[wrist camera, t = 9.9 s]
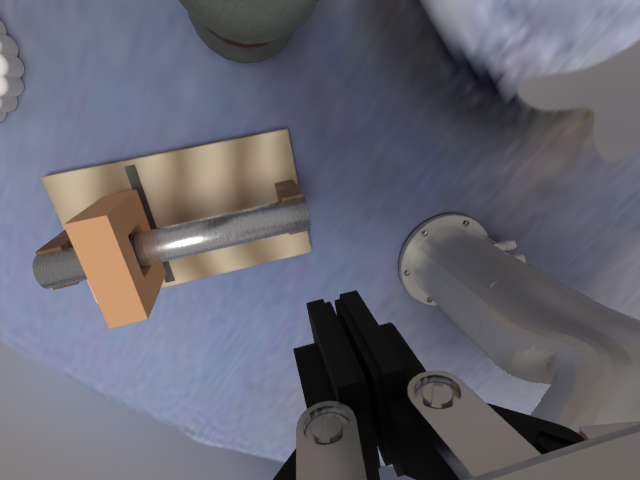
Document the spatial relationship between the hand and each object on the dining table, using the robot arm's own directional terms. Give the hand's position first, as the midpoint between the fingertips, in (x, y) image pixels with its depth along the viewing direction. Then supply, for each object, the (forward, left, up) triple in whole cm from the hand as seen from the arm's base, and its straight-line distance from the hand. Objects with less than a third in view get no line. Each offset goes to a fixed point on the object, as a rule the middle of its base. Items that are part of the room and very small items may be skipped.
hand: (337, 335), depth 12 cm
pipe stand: (+9, +3, -32) cm, 33 cm away
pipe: (+9, +3, -25) cm, 27 cm away
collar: (+14, +3, -28) cm, 31 cm away
